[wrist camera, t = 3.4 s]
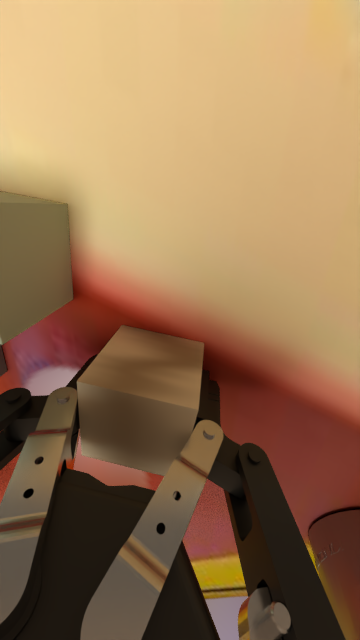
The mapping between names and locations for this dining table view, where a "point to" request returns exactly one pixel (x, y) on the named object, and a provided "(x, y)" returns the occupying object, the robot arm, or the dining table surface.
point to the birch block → (140, 399)
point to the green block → (32, 261)
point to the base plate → (2, 363)
